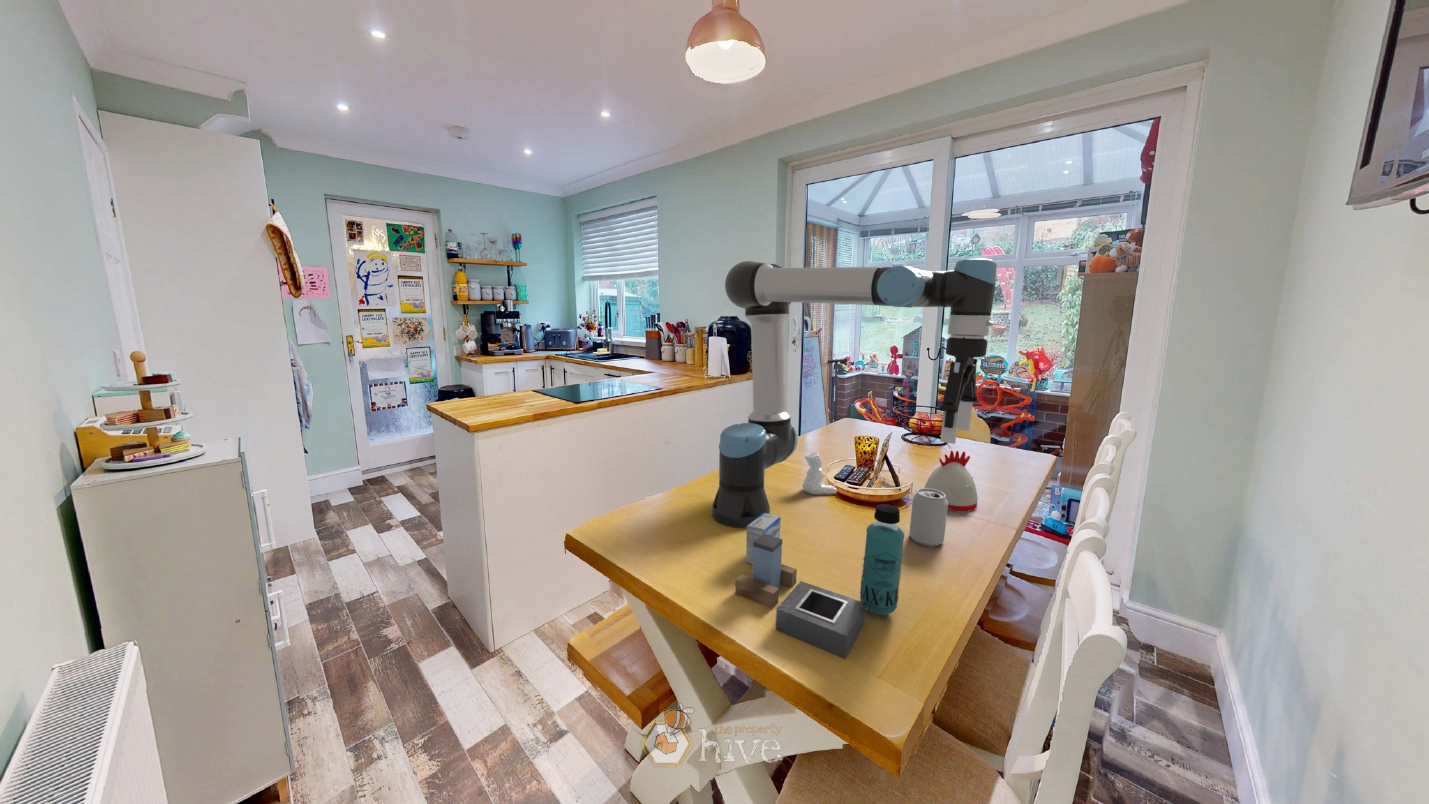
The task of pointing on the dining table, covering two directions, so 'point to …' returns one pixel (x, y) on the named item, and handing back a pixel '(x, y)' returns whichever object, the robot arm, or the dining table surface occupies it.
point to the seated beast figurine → (816, 477)
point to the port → (821, 618)
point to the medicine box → (761, 531)
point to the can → (928, 517)
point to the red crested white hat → (954, 482)
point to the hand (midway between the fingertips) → (955, 435)
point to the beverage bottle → (882, 561)
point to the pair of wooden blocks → (764, 587)
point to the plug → (767, 560)
